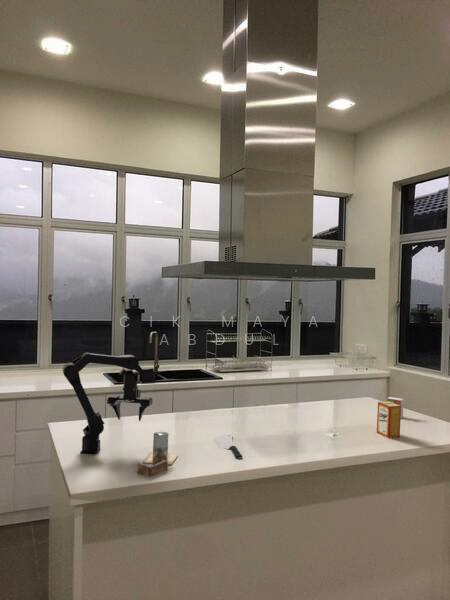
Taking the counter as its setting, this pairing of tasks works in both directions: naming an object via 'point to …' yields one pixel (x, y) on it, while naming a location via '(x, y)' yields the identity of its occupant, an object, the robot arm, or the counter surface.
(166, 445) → the canister
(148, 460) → the mat
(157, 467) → the cubby
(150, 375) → the robot arm
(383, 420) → the baking soda box
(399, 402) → the small box
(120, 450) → the counter surface
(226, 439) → the kitchen cleaver
